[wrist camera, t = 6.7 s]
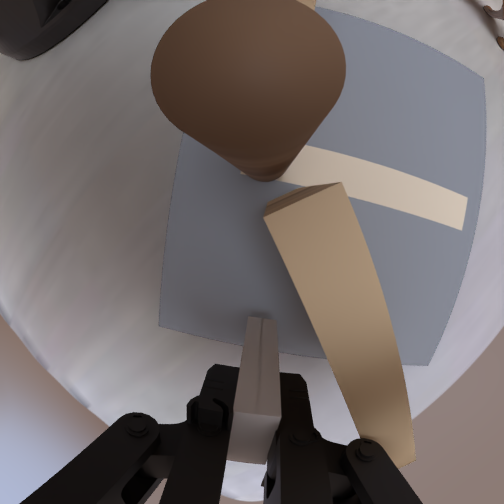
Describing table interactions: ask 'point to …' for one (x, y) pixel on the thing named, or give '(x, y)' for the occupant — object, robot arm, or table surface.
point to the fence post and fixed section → (249, 79)
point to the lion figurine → (500, 14)
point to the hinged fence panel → (346, 309)
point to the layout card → (359, 193)
